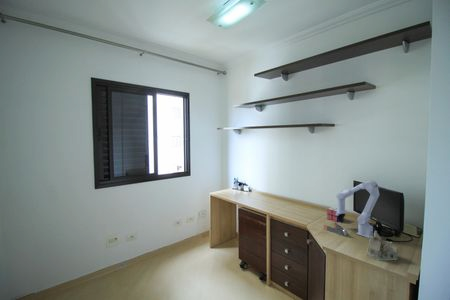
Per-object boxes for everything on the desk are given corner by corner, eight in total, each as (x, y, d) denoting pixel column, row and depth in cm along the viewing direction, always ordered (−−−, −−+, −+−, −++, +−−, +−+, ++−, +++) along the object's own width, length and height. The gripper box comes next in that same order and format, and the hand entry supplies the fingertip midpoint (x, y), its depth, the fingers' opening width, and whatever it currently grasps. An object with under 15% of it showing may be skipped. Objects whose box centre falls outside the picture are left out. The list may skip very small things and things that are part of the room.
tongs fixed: (347, 235, 170) (347, 230, 170) (345, 236, 168) (345, 231, 168) (325, 228, 184) (325, 223, 184) (323, 229, 183) (323, 224, 182)
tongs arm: (345, 234, 172) (345, 230, 171) (343, 234, 172) (343, 230, 171) (335, 226, 187) (335, 222, 186) (334, 226, 187) (334, 222, 186)
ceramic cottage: (362, 254, 143) (364, 232, 141) (373, 248, 152) (376, 227, 150) (389, 267, 130) (392, 243, 128) (400, 259, 138) (403, 237, 137)
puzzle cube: (337, 222, 197) (337, 211, 197) (327, 218, 206) (327, 208, 205) (343, 219, 203) (343, 209, 202) (332, 216, 211) (332, 206, 211)
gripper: (340, 203, 192) (340, 218, 193) (332, 206, 184) (332, 222, 185) (348, 205, 187) (348, 220, 187) (340, 209, 178) (340, 224, 179)
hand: (340, 221), depth 186 cm, fingers closed
